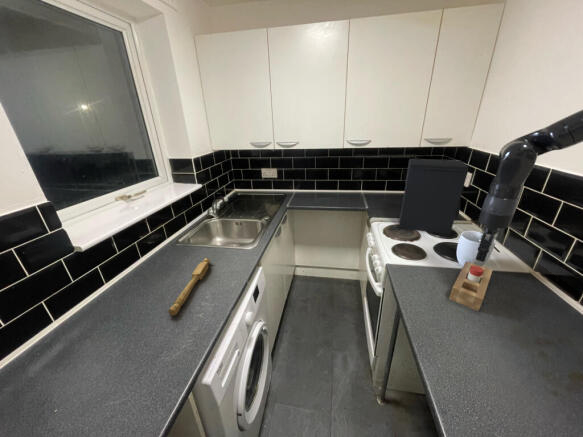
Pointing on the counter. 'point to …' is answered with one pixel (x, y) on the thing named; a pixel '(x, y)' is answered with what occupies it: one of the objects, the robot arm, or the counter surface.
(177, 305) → the tap handle
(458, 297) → the holder
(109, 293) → the counter surface
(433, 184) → the tall black box
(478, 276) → the red capped shaker
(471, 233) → the mug
